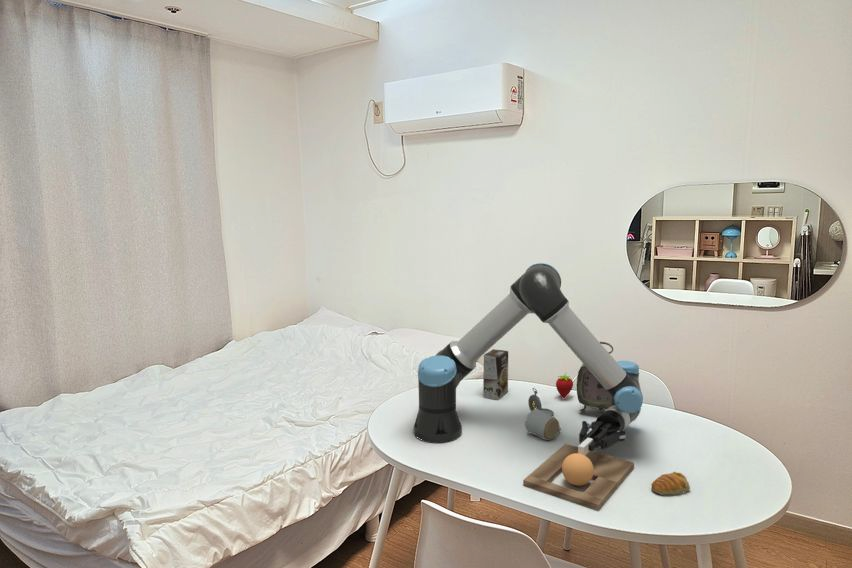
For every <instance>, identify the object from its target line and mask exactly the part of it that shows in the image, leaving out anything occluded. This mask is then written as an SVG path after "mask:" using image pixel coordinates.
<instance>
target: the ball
mask: <svg viewBox="0 0 852 568" xmlns="http://www.w3.org/2000/svg"><path fill="white" fill-rule="evenodd" d="M561 473H562V475H563V478H564V479H565V480H566V481H567V482H568V483H569V484H571V485H574V486H577V487H580V486H585V485H587V484H588V483H589V482H590V481H592V480H591V479H592V477H593V474H594V468H593V464H592V462H591V461H590V459H589V458H588V457H586V456H585V455H583V454H579V453H575V454H571V455H569V456H567V457H566V458H565V460H564V461H563V464H562V472H561Z"/></svg>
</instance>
